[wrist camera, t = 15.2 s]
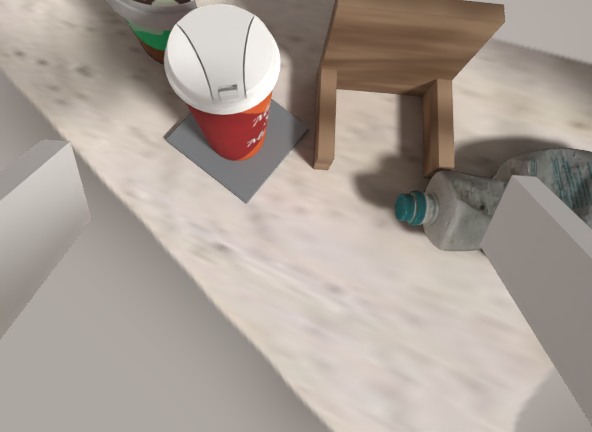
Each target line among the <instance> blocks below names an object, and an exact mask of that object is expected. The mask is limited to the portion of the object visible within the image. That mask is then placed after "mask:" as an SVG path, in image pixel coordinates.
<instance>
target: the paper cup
mask: <svg viewBox="0 0 592 432" xmlns="http://www.w3.org/2000/svg"><path fill="white" fill-rule="evenodd" d="M164 68H165V72H166V76H167V78H168V81H169V83H170V85H171V87H172V88H173V90H174V91H175V92H176V94H177V95H178V96H179V97H180V98H181V99H182V100H184V101H185V102H186V104H187V106H188V107H189V109H190V111H191V113H192V115H193V116H194V118H195V120H196V122H197V123H198V125H199V127H200V129H201V130H202V132H203V134H204V136H205V137H206V139H207V141H208V142H209V144H210V145H211V147H212V148H213V150H214V151H215V152H216V153H217V154H218V155H220V156H221V157H223V158H225V159H227V160H231V161H242V160H246V159H249V158H251V157H252V156H254V155H255V154H256V153H257V152H258V151H259V150H260V148H261V147H262V145H263V142H264V139H265V134H266V129H267V123H268V116H269V110H270V103H271V96H272V89H273V88H274V86H275V84H276V82H277V79H278V76H279V72H280V53H279V50H278V46H277V44H276V42H275V40H274V38H273V36H272V35H271V33H270V32H269V30H268V29H267V27H266V26H265V25H264V23H263V22H262V21H261V20H260V19H259V18H258V17H257V16H254V14H252V13H250V12H248V11H246V10H244V9H242V8H240V7H237V6H234V5H230V4H211V5H205V6H202V7H199V8H196V9H194V10H192V11H191V12H189V13H188V14H187V15H185V16H184V17H183V18H182V19H181V20H180V21H178V22H177V25H176V24H175V26H174V27H173V29H172V31H171V33H170V35H169V39H168V42H167V46H166V50H165V56H164Z"/></svg>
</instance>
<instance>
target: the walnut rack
mask: <svg viewBox="0 0 592 432" xmlns="http://www.w3.org/2000/svg"><path fill="white" fill-rule="evenodd" d="M504 22H505V15H504V5H502V4H492V3H483V2H472V1H463V0H335V4H334V8H333V13H332V17H331V21H330V25H329V29H328V33H327V37H326V41H325V45H324V49H323V53H322V57H321V61H320V65H319V69H318V73H317V93H316V117H315V141H314V165H313V169H321V170H328V169H329V167H330V165H331V164H332V162H333V160H334V149H335V116H336V89H344V90H356V91H368V92H379V93H391V94H402V95H414V96H423V141H424V177H433V176H434V175H435V174H436V173H437V172H439V171H443V170H445V171H450V170H451V169H453V168H455V165H454V132H453V98H452V80H453V79H454V77H455V76H456V75H457V74H458V73H459V72H460V71H461V70H462V69H463V68H464V66H465V65H466V64H467V63H468V62H469V61H470V60H471V59H472V58H473V56H474V55H475V54H476V53H477V52H478V51H479V50H480V49H481V48H482V47H483V45H484V44H485V43H486V42H487V41H488V40H489V39H490V38H491V37H492V36H493V34H494V33H495V32H496V31H497V30H498V29H499V28H500V27H501V25H502V24H503V23H504Z"/></svg>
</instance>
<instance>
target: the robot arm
mask: <svg viewBox="0 0 592 432" xmlns="http://www.w3.org/2000/svg"><path fill="white" fill-rule="evenodd" d="M90 221H91V216H90V212H89V208H88V205H87V201H86V198H85V194H84V190H83V186H82V183H81V179H80V175H79V172H78V168H77V164H76V161H75V157H74V154H73V150H72V146H71V142H70V141H57V140H44V139H43V140H42V141H41V142H39V143H38V144H36V145H35V146H34V147H32V148H31V149H30V150H28V151H27V152H26V153H24V154H23V155H22V156H20V157H19V158H18V159H16V160H15V161H14V162H12V163H11V164H10V165H8V166H7V167H6V168H4V169H3V170H2V171H0V339H1V338H2V336H3V335H4V334H5V332H6V331H7V330H8V328H9V327H10V326H11V325H12V323H13V322H14V321H15V319H16V318H17V317H18V315H19V314H20V313H21V311H22V310H23V309H24V307H25V306H26V305H27V303H28V302H29V301H30V300H31V298H32V297H33V296H34V294H35V293H36V292H37V290H38V289H39V288H40V286H41V285H42V284H43V282H44V281H45V280H46V278H47V277H48V276H49V275H50V273H51V272H52V270H53V269H54V268H55V266H56V265H57V264H58V263H59V261H60V260H61V259H62V257H63V256H64V255H65V253H66V252H67V251H68V250H69V248H70V247H71V246H72V244H73V243H74V242H75V240H76V239H77V238H78V236H79V235H80V234H81V232H82V231H83V230H84V228H85V227H86V226H87V224H88V223H89V222H90ZM480 246H481V248H482V250H483V251H484V253H485V255H486V256H487V258H488V259H489V261H490V263H491V264H492V266H493V267H494V269H495V271H496V272H497V274H498V275H499V277H500V279H501V280H502V282H503V284H504V285H505V287H506V288H507V290H508V292H509V293H510V295H511V296H512V298H513V300H514V301H515V303H516V304H517V306H518V308H519V309H520V311H521V313H522V314H523V316H524V317H525V319H526V321H527V322H528V324H529V325H530V327H531V329H532V330H533V332H534V334H535V335H536V337H537V338H538V340H539V342H540V343H541V345H542V346H543V348H544V350H545V351H546V353H547V354H548V356H549V358H550V359H551V361H552V363H553V364H554V366H555V367H556V369H557V371H558V372H559V374H560V375H561V377H562V379H563V380H564V382H565V383H566V385H567V387H568V388H569V390H570V391H571V393H572V394H573V396H574V398H575V400H576V401H577V403H578V404H579V406H580V408H581V409H582V411H583V412H584V414H585V416H586V417H587V419H588V420H589V422H590V424H591V425H592V229H591V228H590V227H589V226H588V225H587V224H586V223H585V222H583V221H582V220H581V219H580V218H579V217H578V216H577V215H576V214H575V213H574V212H573V211H572V210H571V209H570V208H569V207H568V206H567V205H566V204H564V203H563V202H562V201H561V200H560V199H559V198H558V197H557V196H556V195H555V194H554V193H553V192H552V191H551V190H550V189H549V188H548V187H547V186H545V185H544V184H543V183H542V182H541V181H540V180H539V179H538V178H537V177H532V176H518V175H512V176H511V178H510V180H509V183H508V185H507V187H506V189H505V191H504V193H503V196H502V198H501V200H500V202H499V204H498V206H497V209H496V211H495V213H494V215H493V217H492V220H491V222H490V224H489V226H488V228H487V230H486V233H485V235H484V237H483V239H482V241H481V243H480Z"/></svg>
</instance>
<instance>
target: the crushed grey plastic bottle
mask: <svg viewBox="0 0 592 432" xmlns="http://www.w3.org/2000/svg"><path fill="white" fill-rule="evenodd" d="M512 175H518V176H532V177H537V178H538V179H539V180H540V181H541V182H542V183H543V184H544V185H545V186H547V187H548V188H549V189H550V190H551V191H552V192H553V193H554V194H555V195H556V196H557V197H558V198H559V199H560V200H561V201H562V202H563V203H564V204H566V205H567V206H568V207H569V208H570V209H571V210H572V211H573V212H574V213H575V214H576V215H577V216H578V217H579V218H580V219H581V220H582V221H583V222H585V223H586V224H587V225H588V226H589V227H590V228H591V229H592V152H589V151H585V150H579V149H571V148H558V149H556V148H554V149H543V150H537V151H534V152H528V153H524V154H521V155H517V156H515V157H512V158H510V159H508V160H507V161H505V162H504V163H503V164H502V166H501V167H500V168H499V170H498V171H497V173H496V175H495V176H494V177H493V178H485V177H480V176H474V175H469V174H464V173H460V172H455V171H445V170H443V171H439V172H437V173H436V174H435V175H434V176H433V177H432V179H431V180H430V182H429V184H428V186H427V188H426V191H425V193H424V192H422V191H412V192H411V193H410V194H400V195H399V196H398V198H397V201H396V205H395V213H396V217H397V219H398V220H400V221H407V223H408V224H410V225H420V224H423V226H424V230H425V234H426V236H427V238H428V239H429V240H430V242H431V243H432V244H433V245H434V246H436V247H437V248H439V249H441V250H444V251H472V250H479V249H482V248H481V246H480V243H481V241H482V239H483V237H484V235H485V233H486V230H487V228H488V226H489V224H490V222H491V220H492V217H493V215H494V213H495V211H496V209H497V206H498V204H499V202H500V200H501V198H502V196H503V193H504V191H505V189H506V187H507V185H508V183H509V180H510V178H511V176H512ZM410 225H409V226H410Z"/></svg>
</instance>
